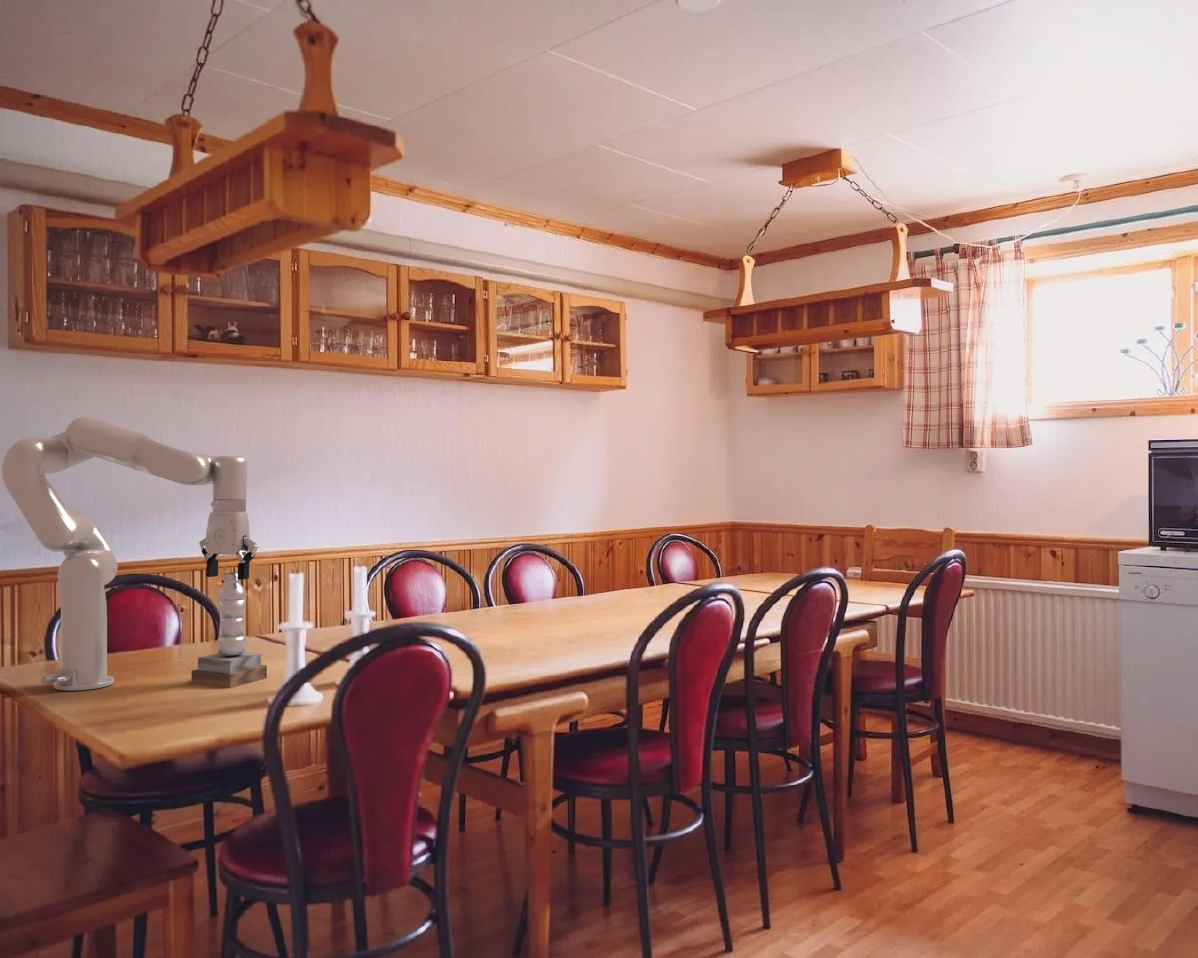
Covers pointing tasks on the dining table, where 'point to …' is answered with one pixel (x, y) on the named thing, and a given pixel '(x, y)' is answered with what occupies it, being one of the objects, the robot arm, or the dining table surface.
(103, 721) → the dining table surface
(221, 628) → the plastic bottle
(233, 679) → the plinth
